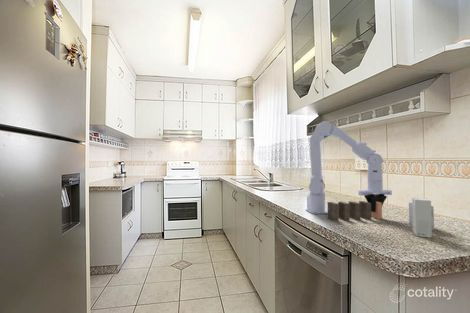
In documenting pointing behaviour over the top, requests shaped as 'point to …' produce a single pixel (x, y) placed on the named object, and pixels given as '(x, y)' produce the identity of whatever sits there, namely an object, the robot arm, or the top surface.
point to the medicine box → (412, 219)
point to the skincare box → (421, 217)
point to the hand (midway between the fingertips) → (375, 211)
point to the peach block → (377, 211)
